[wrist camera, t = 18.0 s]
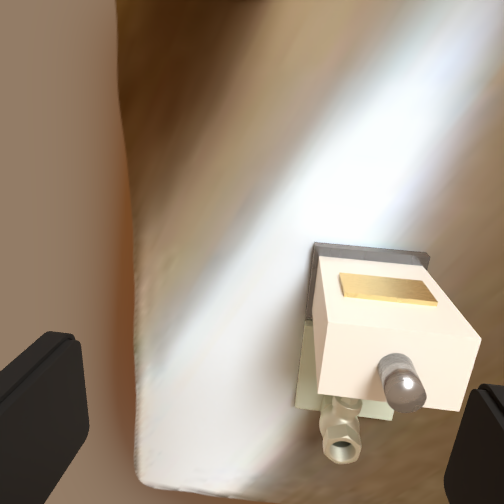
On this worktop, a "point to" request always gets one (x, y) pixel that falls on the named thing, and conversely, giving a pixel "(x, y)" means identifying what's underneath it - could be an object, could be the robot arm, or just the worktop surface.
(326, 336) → the pump housing
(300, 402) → the pad
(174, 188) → the worktop surface
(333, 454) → the valve
